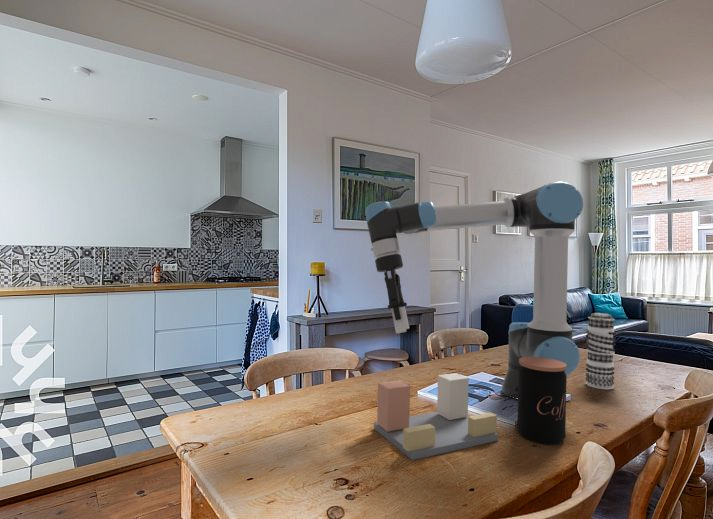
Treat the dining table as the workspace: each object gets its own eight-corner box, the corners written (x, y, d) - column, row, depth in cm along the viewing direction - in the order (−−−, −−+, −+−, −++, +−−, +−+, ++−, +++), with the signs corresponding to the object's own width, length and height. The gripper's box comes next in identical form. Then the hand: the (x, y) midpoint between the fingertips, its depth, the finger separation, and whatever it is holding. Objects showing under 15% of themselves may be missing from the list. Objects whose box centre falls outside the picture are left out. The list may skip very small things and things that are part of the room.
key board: (372, 428, 99) (372, 406, 99) (452, 414, 110) (453, 394, 110) (410, 460, 84) (410, 434, 84) (499, 440, 94) (500, 416, 94)
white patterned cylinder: (606, 382, 144) (608, 312, 144) (620, 390, 134) (622, 316, 134) (579, 380, 144) (581, 311, 145) (592, 388, 135) (593, 315, 135)
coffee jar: (537, 448, 91) (539, 368, 91) (507, 428, 101) (509, 357, 101) (575, 443, 94) (577, 366, 94) (543, 425, 104) (544, 355, 104)
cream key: (437, 413, 106) (437, 375, 106) (455, 409, 108) (456, 372, 108) (449, 420, 101) (450, 380, 101) (467, 416, 104) (468, 378, 104)
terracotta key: (377, 423, 98) (378, 382, 98) (398, 419, 100) (399, 380, 100) (387, 431, 93) (388, 388, 93) (409, 427, 96) (410, 386, 96)
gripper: (380, 263, 126) (394, 330, 123) (367, 253, 102) (384, 337, 99) (403, 258, 125) (418, 325, 122) (396, 247, 100) (414, 331, 97)
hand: (403, 331), depth 110 cm, fingers open, 13 cm apart
